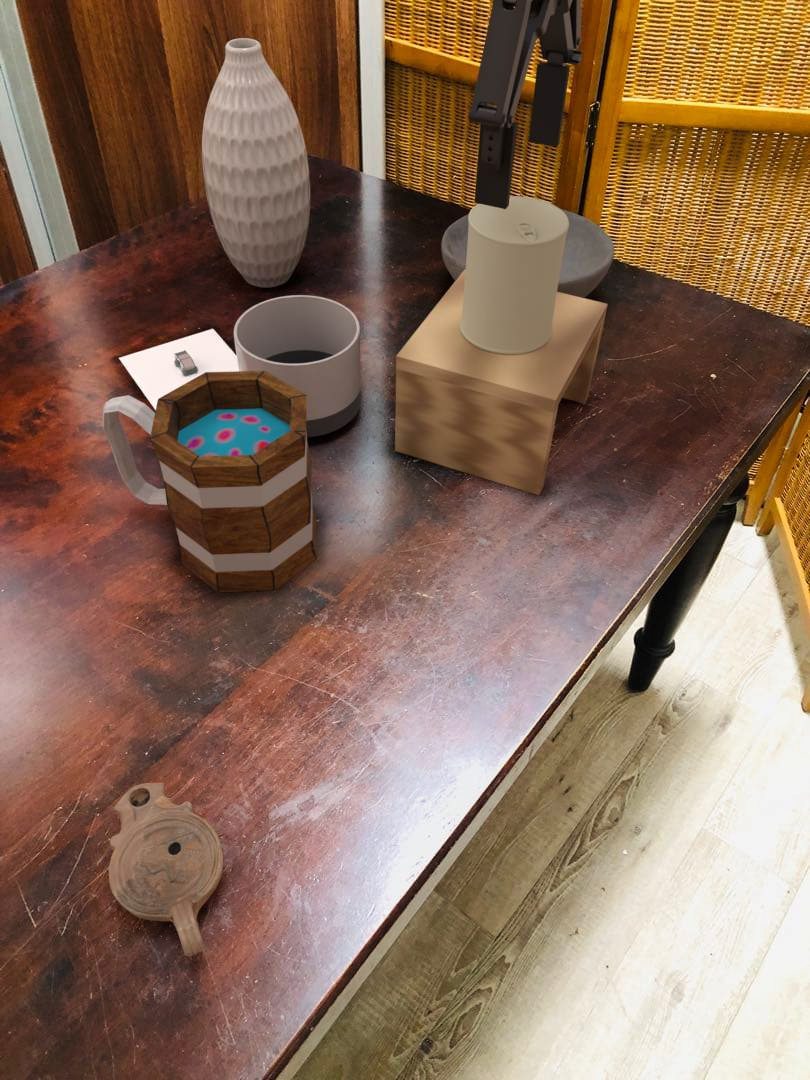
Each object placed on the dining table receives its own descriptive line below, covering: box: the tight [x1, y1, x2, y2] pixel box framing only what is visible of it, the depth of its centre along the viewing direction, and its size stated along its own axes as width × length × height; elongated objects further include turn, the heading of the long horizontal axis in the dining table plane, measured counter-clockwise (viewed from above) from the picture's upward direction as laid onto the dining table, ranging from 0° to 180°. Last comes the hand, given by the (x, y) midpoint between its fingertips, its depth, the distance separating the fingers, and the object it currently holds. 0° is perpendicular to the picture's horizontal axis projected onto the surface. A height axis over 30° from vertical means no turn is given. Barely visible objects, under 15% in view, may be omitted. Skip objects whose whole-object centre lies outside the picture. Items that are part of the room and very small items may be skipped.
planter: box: [233, 294, 362, 439], centre depth 94 cm, size 13×13×10 cm
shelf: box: [394, 270, 609, 496], centre depth 92 cm, size 16×18×12 cm
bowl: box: [440, 208, 615, 299], centre depth 112 cm, size 21×21×8 cm
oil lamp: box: [108, 782, 224, 958], centre depth 59 cm, size 13×8×5 cm, turn 25°
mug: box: [101, 371, 318, 593], centre depth 79 cm, size 20×14×15 cm
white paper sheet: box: [118, 328, 239, 411], centre depth 102 cm, size 12×12×2 cm
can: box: [460, 195, 569, 355], centre depth 83 cm, size 9×9×12 cm
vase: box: [201, 37, 311, 289], centre depth 107 cm, size 13×13×28 cm
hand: (519, 172), depth 76 cm, fingers open, 13 cm apart
